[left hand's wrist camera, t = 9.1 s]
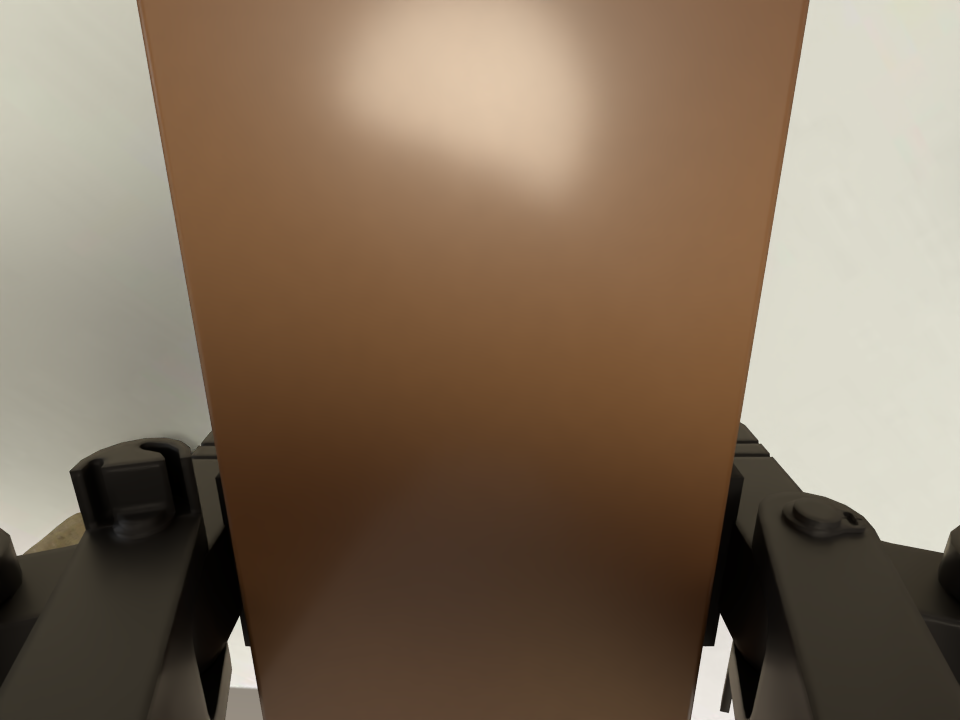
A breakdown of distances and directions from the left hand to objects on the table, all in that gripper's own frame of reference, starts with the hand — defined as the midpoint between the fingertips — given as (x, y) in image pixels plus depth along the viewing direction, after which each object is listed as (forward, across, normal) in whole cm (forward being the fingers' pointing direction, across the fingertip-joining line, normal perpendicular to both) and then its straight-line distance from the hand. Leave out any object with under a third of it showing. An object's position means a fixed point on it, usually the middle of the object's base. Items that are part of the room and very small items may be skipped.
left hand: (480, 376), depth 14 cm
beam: (+1, 0, -20) cm, 20 cm away
